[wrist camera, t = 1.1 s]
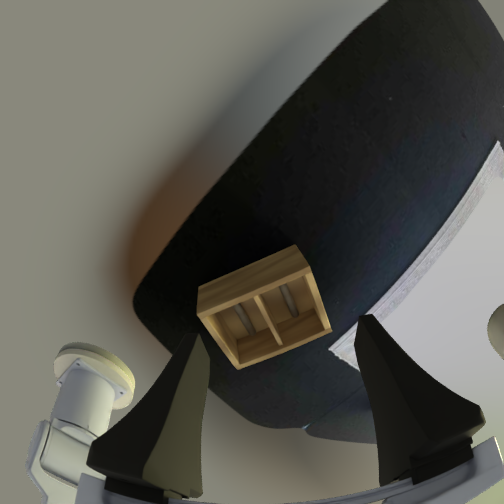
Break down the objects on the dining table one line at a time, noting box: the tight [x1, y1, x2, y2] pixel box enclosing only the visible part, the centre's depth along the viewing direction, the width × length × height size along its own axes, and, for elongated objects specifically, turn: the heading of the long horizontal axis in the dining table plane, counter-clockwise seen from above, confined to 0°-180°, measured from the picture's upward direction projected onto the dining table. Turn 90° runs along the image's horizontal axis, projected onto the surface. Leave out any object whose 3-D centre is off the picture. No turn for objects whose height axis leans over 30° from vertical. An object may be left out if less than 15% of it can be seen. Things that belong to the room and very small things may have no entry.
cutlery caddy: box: [197, 245, 332, 370], centre depth 26 cm, size 8×10×4 cm
